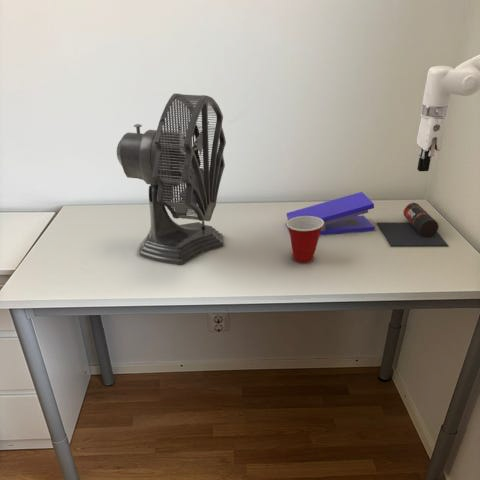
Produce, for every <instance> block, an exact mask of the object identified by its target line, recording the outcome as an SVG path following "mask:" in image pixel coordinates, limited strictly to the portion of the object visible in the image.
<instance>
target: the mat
mask: <svg viewBox="0 0 480 480" xmlns="http://www.w3.org/2000/svg"><path fill="white" fill-rule="evenodd" d="M376 224H377V225H378V227H379V229H380V230H381V233H382V234H383V236H384V238H385V239H386V241H387V242H388V244H389V246H390V247H394V248H395V247H397V248H398V247H448V246H449V245H448V244H447V242H446V241H445V240H444V238H443V237H442V236H441V234H439V233H438V231H437V232H436V234H434V235H433V236H431V237H424V236H422V235H421V234H420V232H419V231H418V230H417V229H416V228H415V227H414V226H413V225H412V224H411V223H410V222H409V221H407V222H405V221H403V222H402V221H401V222H399V221H398V222H397V221H396V222H394V221H393V222H391V221H390V222H388V221H387V222H386V221H385V222H376Z"/></svg>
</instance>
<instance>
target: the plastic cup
mask: <svg viewBox="0 0 480 480" xmlns="http://www.w3.org/2000/svg"><path fill="white" fill-rule="evenodd" d="M323 224H324V221H323V220H322V219H320V218H318V217H313V216H300V217H295V218H291V219H290V220H288V219H287V221H286V226H287V228H288V231H289V236H290V245H291V251H292V258H293V260H294V261H295V262H296V263H300V264H308V263H311V262H312V261H313V259H314V256H315V252H316V250H317V246H318V243H319V238H320V236H321V235H320V232H321V229H322V227H323Z"/></svg>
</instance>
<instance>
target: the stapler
mask: <svg viewBox="0 0 480 480" xmlns="http://www.w3.org/2000/svg"><path fill="white" fill-rule="evenodd" d="M372 209H375V203H374V202H373V201H372V200H371V199H370V198H369V196H367V195H366V194H365V193H364V192H363V191H360V192H357V193H353V194H349V195H346V196H342V197H339V198H335V199H332V200H327V201H325V202H321V203H317V204H314V205H310V206H307V207H303V208H300V209H296V210H292V211H289V212H286V219H287V221H288V220H290V219H291V218H295V217H300V216H313V217H318V218H320V219H322V220H323V221H324V224H323V227H322V229H321V232H320V235H319V236H321V235H332V234H333V235H334V234H346V233H357V232H371V231H375V229H376V226H375V225H374V224H373V223H372V222H371V221H370V220H369V219H368V218H367V217H366V216H365V214H368V213H369V210H372Z"/></svg>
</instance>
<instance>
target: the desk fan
mask: <svg viewBox="0 0 480 480" xmlns="http://www.w3.org/2000/svg"><path fill="white" fill-rule="evenodd" d="M199 118H201V120H199ZM214 119H216V120H215V121H214ZM223 120H224V115H223V113H222V110H221V108H220V106H219V104H218V103H217V101H216V100H215V99H214V98H213V97H211V96H210V95H205V94H204V95H203V94H201V95H199V94H182V93H173V94H171V96H170V97H169V99H168V100H167V102H166V103H165V106H164V109H163V111H162V114H161V115H160V119H159V120H158V121H159V122H158V125H157V128H156V129H148V130H146V131H145V132H144V133H141V127H143V125H142V124H140V123H135V124H134V125H133V128H135V129H136V132H126V133H125V134H124V135H123V136H122V137H121V139H120V140H119V142H118V143H117V146H116V158H117V161H118V162H119V164H120V166H121V167H122V169H123V170H122V171H123V173H124V175H125V176H126V178H129V179H138V180H142V181H144V182H145V184H146V185H149V186H148V204H149V215H150V228H149V231H148V232H147V235H146V237H145V238H144V239H143V241H142V242H141V244H140V246H139V250H138V254H139V257H142V258H145V259H148V260H151V261H154V262H158V263H162V264H163V263H164V264H169V265H176V266H177V265H178V266H181V265H184V264H185V263H187V262H188V261H189V260H191V259H193V258H195V257H197V256H199V255H201V254H203V253H207V252H208V251H212V250H215V249H219V248H222V247H224V243H223V241H222V238H223V234H222V233H221V232H219V231H218V230H217V229H216V228H215V227H213V226H212V225H207V224H205V221H206V222H210V221H211V220H212V217H213V213H214V210H215V208H216V206H217V202H218V201H217V200H218V195H219V190H220V184H221V181H222V177H223V174H224V170H225V166H226V163H225V158H224V151H225V147H226V145H227V142H226V136H225V132H224V129H223ZM210 121H211V123H210ZM200 123H201V126H199V125H200ZM212 123H213V124H212ZM213 126H214V127H213ZM210 141H212V143H210ZM209 143H210V144H209ZM167 210H168V211H169V212H170V214H171V216H172V217H171V216H170V215H169V212H168V211H167ZM172 218H173V219H183V220H184V219H185V220H194V221H196V222H190V223H183V224H178V223H177V222H175V221H174V220H173V219H172Z"/></svg>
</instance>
